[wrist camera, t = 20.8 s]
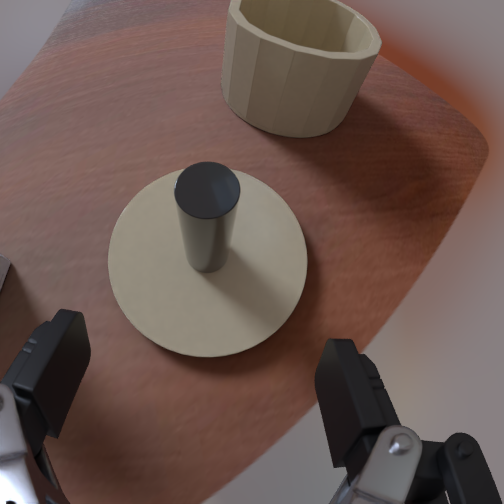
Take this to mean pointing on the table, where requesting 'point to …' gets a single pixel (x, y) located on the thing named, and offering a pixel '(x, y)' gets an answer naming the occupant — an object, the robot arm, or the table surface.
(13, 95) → the table surface
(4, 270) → the ink box
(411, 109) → the table surface
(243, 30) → the canister
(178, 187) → the lid
